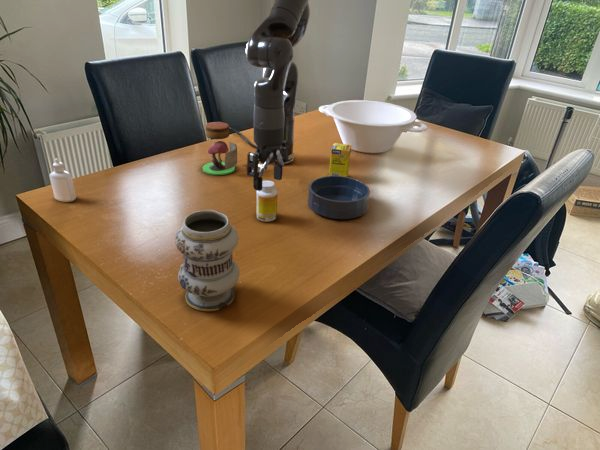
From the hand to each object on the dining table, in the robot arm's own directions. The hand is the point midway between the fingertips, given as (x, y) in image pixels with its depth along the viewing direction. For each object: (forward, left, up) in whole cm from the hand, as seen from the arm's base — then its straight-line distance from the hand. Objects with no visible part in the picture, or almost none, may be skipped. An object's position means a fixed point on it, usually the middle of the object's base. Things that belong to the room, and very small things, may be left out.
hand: (268, 184), depth 117 cm
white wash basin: (-5, +71, -10) cm, 72 cm away
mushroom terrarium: (-32, +16, -10) cm, 37 cm away
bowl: (+12, +18, -10) cm, 24 cm away
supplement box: (+2, +36, -10) cm, 37 cm away
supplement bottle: (0, 0, -10) cm, 10 cm away
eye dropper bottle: (-50, -27, -10) cm, 58 cm away
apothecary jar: (+11, -34, -10) cm, 37 cm away
